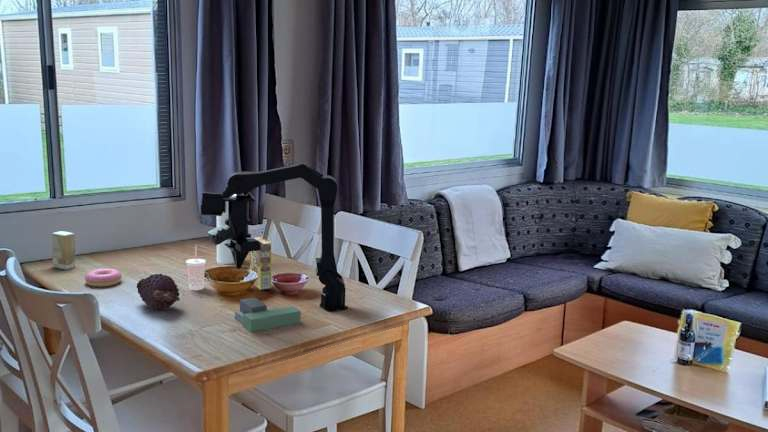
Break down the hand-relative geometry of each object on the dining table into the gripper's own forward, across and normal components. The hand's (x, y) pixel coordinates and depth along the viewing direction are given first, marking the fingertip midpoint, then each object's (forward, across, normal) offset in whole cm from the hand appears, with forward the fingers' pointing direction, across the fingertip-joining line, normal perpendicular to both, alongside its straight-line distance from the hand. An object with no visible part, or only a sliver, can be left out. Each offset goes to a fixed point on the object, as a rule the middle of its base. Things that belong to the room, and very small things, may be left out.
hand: (238, 268), depth 197 cm
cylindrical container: (+12, -50, +17) cm, 54 cm away
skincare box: (+12, -67, -35) cm, 77 cm away
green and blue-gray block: (+12, +14, +2) cm, 19 cm away
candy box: (+12, -17, +15) cm, 26 cm away
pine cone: (+12, -11, -20) cm, 26 cm away
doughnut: (+12, -43, -28) cm, 52 cm away
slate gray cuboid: (+12, +11, 0) cm, 16 cm away
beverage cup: (+12, -24, -4) cm, 27 cm away
